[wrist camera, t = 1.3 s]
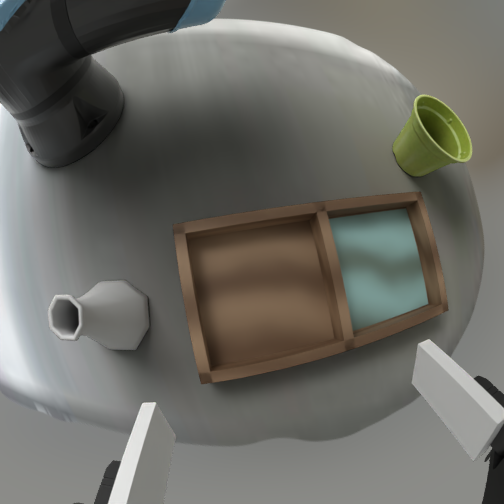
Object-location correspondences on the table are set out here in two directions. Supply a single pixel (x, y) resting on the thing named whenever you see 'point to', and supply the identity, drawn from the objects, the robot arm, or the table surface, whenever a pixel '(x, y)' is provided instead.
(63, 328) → the flask
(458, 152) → the plant pot
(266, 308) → the walnut caddy
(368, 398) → the table surface
